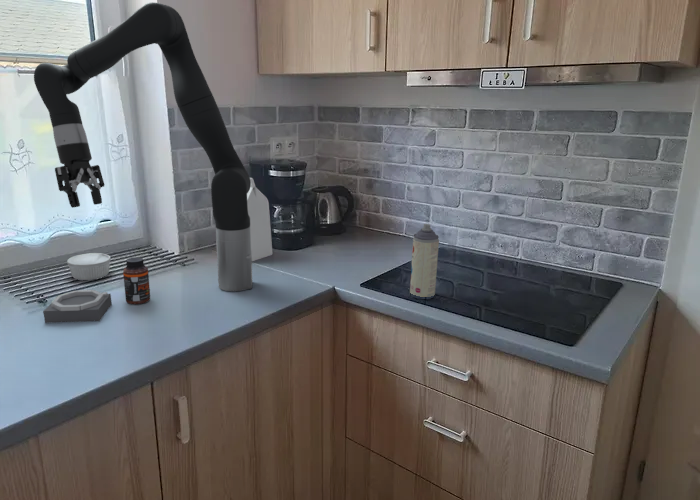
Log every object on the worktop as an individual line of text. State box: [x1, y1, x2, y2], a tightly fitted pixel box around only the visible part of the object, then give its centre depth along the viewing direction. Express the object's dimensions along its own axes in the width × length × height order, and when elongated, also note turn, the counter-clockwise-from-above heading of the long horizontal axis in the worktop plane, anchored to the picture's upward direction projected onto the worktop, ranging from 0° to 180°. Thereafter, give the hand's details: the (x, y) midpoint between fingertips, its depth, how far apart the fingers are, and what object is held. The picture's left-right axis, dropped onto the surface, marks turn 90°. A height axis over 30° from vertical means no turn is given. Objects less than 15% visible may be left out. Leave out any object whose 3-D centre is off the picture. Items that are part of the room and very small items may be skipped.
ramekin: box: [66, 252, 112, 281], centre depth 153 cm, size 11×11×5 cm
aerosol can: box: [409, 223, 440, 297], centre depth 142 cm, size 7×7×20 cm
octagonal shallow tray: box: [42, 289, 113, 324], centre depth 128 cm, size 12×10×4 cm
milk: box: [247, 177, 273, 262], centre depth 172 cm, size 12×12×26 cm
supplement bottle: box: [122, 256, 151, 305], centre depth 135 cm, size 6×6×11 cm
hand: (87, 205), depth 139 cm, fingers open, 8 cm apart
